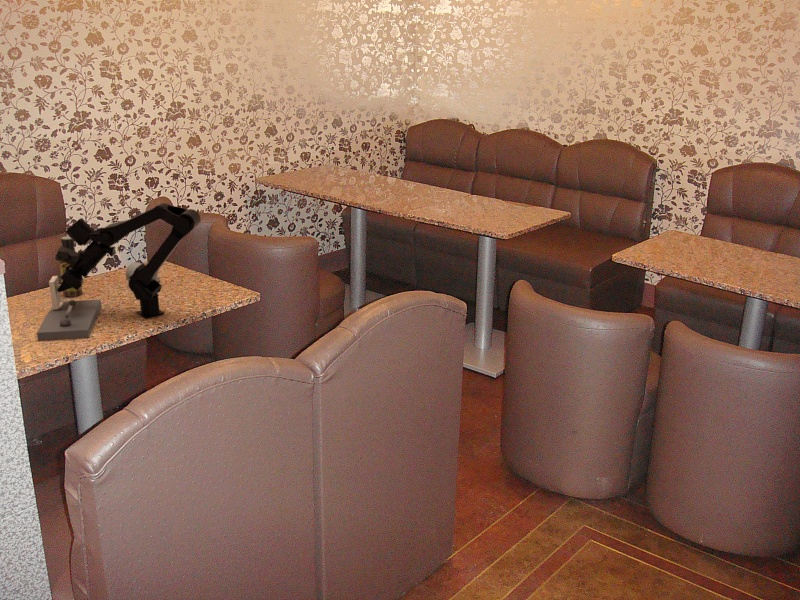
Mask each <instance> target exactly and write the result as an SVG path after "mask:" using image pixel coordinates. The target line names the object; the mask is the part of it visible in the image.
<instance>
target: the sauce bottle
mask: <svg viewBox="0 0 800 600" xmlns="http://www.w3.org/2000/svg"><path fill="white" fill-rule="evenodd" d="M60 241H61V245H62V246H61V247H65V248H68V249H70V250H73V251H75V252H76V249H75V248H76V247H75V241H74V240H73V239H71V238H70V237H69V236H68V235H67V236H62V237H60ZM69 265H70V264H68V263H65V262H62V261H59V268H60V276H61V275H62V274H63V272H64V271H66V270H65V269H66V267H67V266H68V267H69ZM62 281H63V280H62V279H61V282H62ZM62 293H63V295H64V296H65V297H77V296H81V295H82V294H83V285H82V286H81V287H80V288H79V289H78V290H75V289H74V288H73V287H72V288H70V289H67V290H65V291H62Z"/></svg>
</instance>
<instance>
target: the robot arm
mask: <svg viewBox="0 0 800 600" xmlns="http://www.w3.org/2000/svg"><path fill="white" fill-rule="evenodd" d="M158 220H162V221H164V222H165V223H166V224H168V225H170V226H172V228H171V230H170V233H169V235H168V236H167V237H166V238H165V240H164V241H163V242H162V243H161V245H160V246H159V247H158V249H157V250H156V252H155V253H154V254H153V256H152V257H151V258H150V260H149V261H148V262H147V263H146V264H145V263H144V262H141V265H140V266H138V267H137V268H136V269H135V271H134V273H133V274H132V275H131V276H130V277H129V279H130V280H129V282H128V287H129V289H130V291H131V292H132V293H133V295H134V296H135V299H136V301H137V300H138V301H139V306H140V310H137V311H136V314H138V315H139V316H140V317H142V318H144V319H149V318H152V317H153V318H154V317H156V316H162V315H164V314H165V311H163V310H161V309H160V300H159V294H158V293H161V290H162V287H163V286H162V284H161V283H160V282H158V281H156V280H155V279H156V277H157V276H158V273H159V271H160V268H161V267H162V266H163V265H164V264H165V262H166V261H167V260H168V258H169V257H170V256H171V254H172V253H173V252H174V250H175V249H176V248H177V246H179V244H180V243H181V241H182V240H184V238H185V237H186V236H187V235H189V233H191V232H192V231H193V230H194V229H195V228H197V226H199V225H200V223H201V220H202V218H201V215H200V214H199V211H197V210H195V209H192V208H190V209H189V208H185V207H181V206H180V207H179V206H175V205H171V204H169V203H164V202H162V203H159V204H157V205H155V206H154V207H152V208H150V209H148V210H146V211H144V212H140V214H137V215H136V216H133V217H132V218H131V217H130V218H129V219H126V220H122V221H116V222H112V223H110V224H108V225H106V226H105V227H98V228H96V229H94V228H93V227H92V226H91V225H89V224H88V222H87V221H86V220H85V219H84V218H79V219H78V220H76V222H74V223H73V224H72V225H71V226H69V227H68V228H67V229H66V230H65V234H66V235H67V236H69V237H70V238H71V239H73V240H74V243H76V244H77V245H78V246H80V247H82V246H84V247H85V246H87V247H86V248H84V249H83V250H81V251H80V252H77V251H76V250H75V251H73V250H70V249H68V248H65V247H62V246H59V247H58V249H57V253H56V255H55V257H54V259H55V261H58V262H60V261H62V262H65V263H68V264H70V265H69V267H68V266H67V267H66V269H65V270H66V271H64V272H63V274H62V275H61V274H60V279H61V283H60V284H59V288H58V290H57V291H58V292H60V293H63V291H65V290H67V289H70V288H72V287H73V288H74V289H75V290H78V289H79V288H80V287H81V286H82V287H83V284H84V279H85V278H87V277H88V275H89V274H90V272H91V271H93V269H95V268H96V267H97V265H98V264H99V263H100V262H101V261H102V260H103V259H104V258H105V256H106V255H109V256H110V257H113V256H116V254H117V252H116V246H114V245H115V244H117V243H118V242H120V241H121V240H122V239H124V238H125V237H127V236H128V235H130V234H131V233H132V232H134V231H137V230H138V229H141V228H143V227H145V226H147V225H149V224H151V223H153V222H156V221H158ZM62 280H63V281H62Z"/></svg>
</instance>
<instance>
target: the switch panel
mask: <svg viewBox="0 0 800 600" xmlns="http://www.w3.org/2000/svg"><path fill="white" fill-rule="evenodd" d="M69 301H70V300H68V301H67V300H65V301H64V300H63V301H62V300H61V302H63V303H64V304H63V306H62V307H61V308H58V309H56V310H53V309H51V308H50V309H49V311H48V312H47V314H46V316H45V318H44V319H43V321H42V323H41V324H40V327H39V328H38V330H37V332H36V337H37V341H38V340H42V341H54V340H55V341H56V340H58V339H59V340H72V339H74V340H75V339H89V338H90V336H91V333H92V330H93V328H94V326H95V323H96V321H97V318H98V316H99V314H100V312H101V309H102V300H101V299H86V300H83V299H82V300H74V301H75V305H73V307H72V309H71V312H70V315H69V317H68V318H65V315H66V312H67V310H68V307H69Z"/></svg>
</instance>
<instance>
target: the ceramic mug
mask: <svg viewBox="0 0 800 600" xmlns="http://www.w3.org/2000/svg"><path fill="white" fill-rule="evenodd" d="M141 264H142V262H141V263H140V262H138V261H134V262H131V263H130V264H129V265H128V266H127V268H126V270H125V279H126V281H127V282H128V283H129V280H130V279H129V277H130V276H131V275H132V274H133V273H134V271H135V269H136V268H137V267H138V266H140V265H141ZM155 280H156V281H157V282H158V283H160V281H161V277H160V276H158V275H157V277H156V279H155Z"/></svg>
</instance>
